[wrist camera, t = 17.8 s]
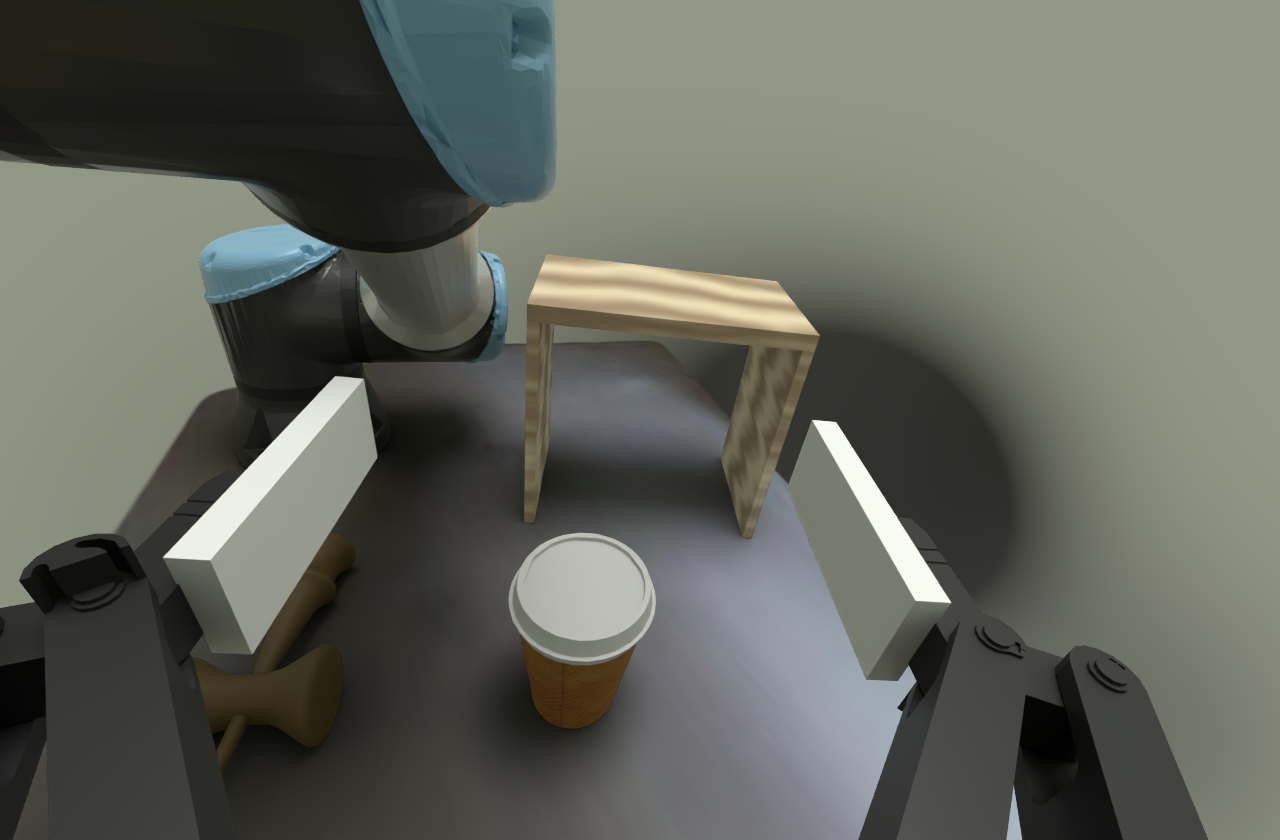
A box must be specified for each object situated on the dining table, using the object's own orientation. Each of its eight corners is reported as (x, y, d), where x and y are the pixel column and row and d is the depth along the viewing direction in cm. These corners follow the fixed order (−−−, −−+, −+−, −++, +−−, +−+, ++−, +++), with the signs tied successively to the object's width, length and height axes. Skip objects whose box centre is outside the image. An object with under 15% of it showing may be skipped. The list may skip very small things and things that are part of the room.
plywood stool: (751, 538, 56) (819, 335, 44) (524, 522, 54) (527, 303, 41) (728, 458, 68) (776, 281, 55) (540, 443, 66) (547, 254, 53)
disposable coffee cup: (570, 611, 46) (579, 508, 39) (659, 681, 41) (686, 578, 35) (481, 692, 39) (475, 584, 32) (577, 785, 35) (592, 682, 28)
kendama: (390, 568, 48) (305, 825, 31) (273, 573, 46) (116, 848, 29) (379, 518, 45) (279, 774, 28) (253, 521, 43) (66, 796, 26)
